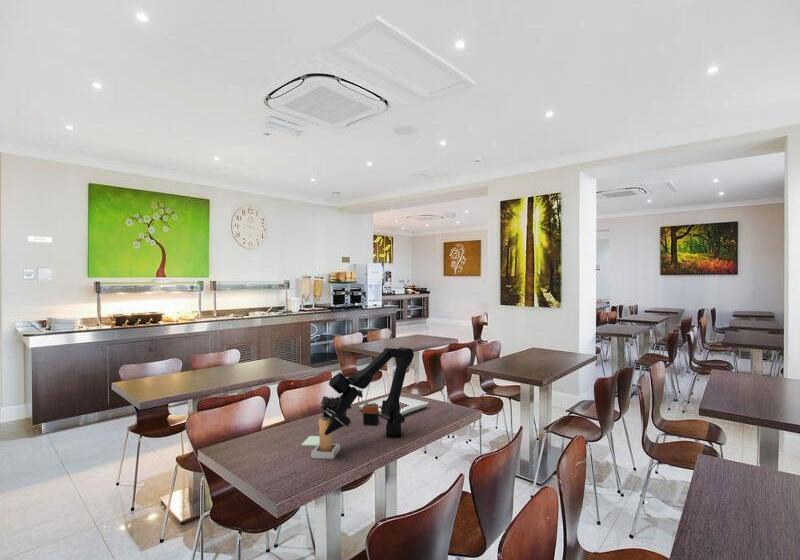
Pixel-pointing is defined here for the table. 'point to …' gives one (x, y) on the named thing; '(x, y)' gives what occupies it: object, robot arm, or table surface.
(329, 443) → the plug
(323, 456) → the frame
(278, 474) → the table surface
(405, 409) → the square plate
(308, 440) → the mat
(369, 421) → the battery
